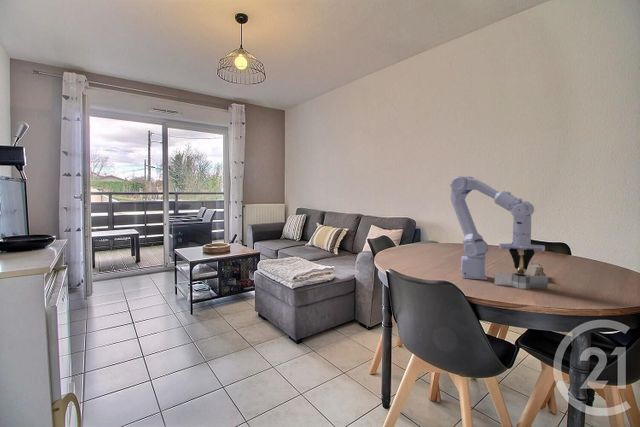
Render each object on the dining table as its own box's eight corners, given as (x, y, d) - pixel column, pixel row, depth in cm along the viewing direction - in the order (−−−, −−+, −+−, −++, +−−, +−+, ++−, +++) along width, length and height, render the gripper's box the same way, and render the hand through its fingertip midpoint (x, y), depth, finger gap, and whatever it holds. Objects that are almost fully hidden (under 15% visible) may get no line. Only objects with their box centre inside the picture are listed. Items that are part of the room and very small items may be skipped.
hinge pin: (517, 273, 115) (518, 255, 115) (516, 271, 117) (516, 254, 117) (525, 273, 114) (525, 255, 114) (523, 272, 117) (523, 254, 116)
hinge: (495, 286, 117) (496, 275, 116) (493, 282, 122) (493, 271, 122) (549, 291, 111) (550, 279, 110) (544, 286, 116) (545, 274, 116)
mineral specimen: (553, 282, 121) (554, 267, 121) (534, 281, 122) (534, 266, 122) (534, 273, 134) (535, 259, 133) (517, 273, 135) (518, 259, 134)
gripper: (502, 234, 114) (501, 269, 115) (548, 235, 108) (546, 272, 110) (498, 231, 120) (497, 265, 121) (541, 233, 115) (540, 267, 116)
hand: (520, 268), depth 116 cm, fingers closed on hinge pin, 2 cm apart
